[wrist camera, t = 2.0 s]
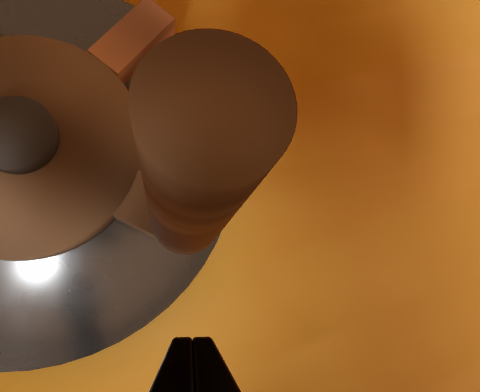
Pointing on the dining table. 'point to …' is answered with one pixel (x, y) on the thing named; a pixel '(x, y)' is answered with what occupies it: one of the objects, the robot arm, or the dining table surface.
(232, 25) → the dining table surface
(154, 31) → the crank handle
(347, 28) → the dining table surface
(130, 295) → the post base
